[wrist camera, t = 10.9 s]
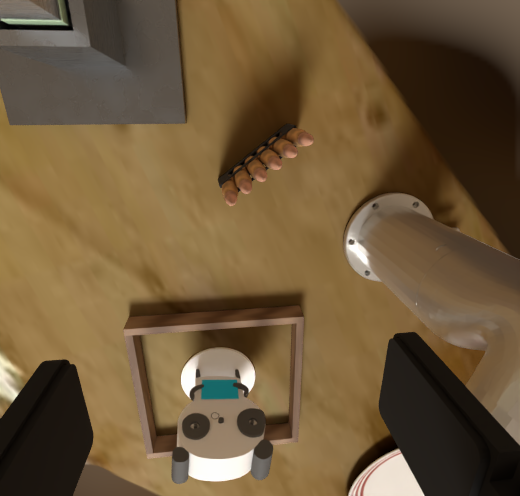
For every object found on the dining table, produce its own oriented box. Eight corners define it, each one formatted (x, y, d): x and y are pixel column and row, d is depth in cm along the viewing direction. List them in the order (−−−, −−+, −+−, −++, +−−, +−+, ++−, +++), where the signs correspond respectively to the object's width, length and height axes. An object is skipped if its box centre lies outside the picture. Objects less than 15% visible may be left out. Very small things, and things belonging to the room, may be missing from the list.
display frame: (299, 305, 48) (303, 316, 46) (294, 426, 57) (298, 442, 54) (129, 316, 46) (123, 329, 43) (151, 441, 55) (147, 458, 52)
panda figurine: (263, 348, 50) (279, 435, 37) (254, 405, 54) (267, 503, 41) (182, 346, 49) (167, 437, 35) (180, 405, 53) (166, 508, 39)
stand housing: (169, -81, 31) (144, -183, 21) (186, 123, 38) (173, 125, 27) (-38, -92, 29) (-183, -211, 19) (18, 124, 36) (-67, 127, 25)
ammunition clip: (287, 122, 39) (314, 124, 28) (296, 135, 40) (326, 142, 29) (217, 179, 41) (216, 202, 29) (227, 191, 41) (229, 217, 30)
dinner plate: (318, 512, 67) (323, 531, 64) (387, 414, 59) (396, 431, 56) (426, 530, 74) (435, 548, 71) (501, 444, 66) (514, 460, 63)
